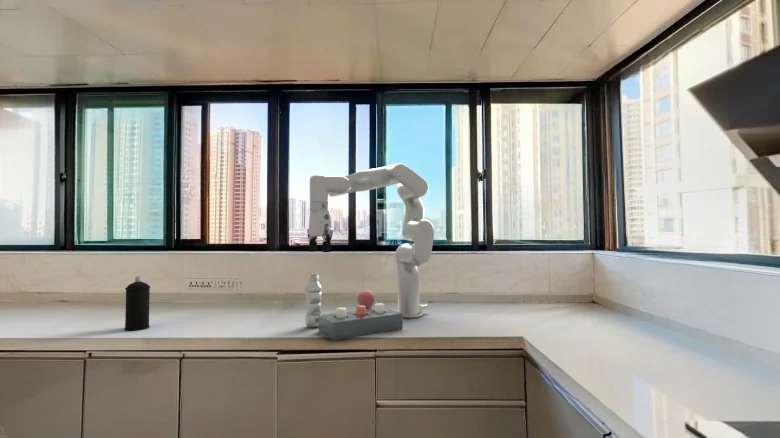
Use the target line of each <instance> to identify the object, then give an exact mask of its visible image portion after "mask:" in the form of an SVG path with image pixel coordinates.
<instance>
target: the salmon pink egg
mask: <svg viewBox="0 0 780 438" xmlns="http://www.w3.org/2000/svg"><path fill="white" fill-rule="evenodd" d="M355 311H356V316H364V315H366V306H363V305H355Z"/></svg>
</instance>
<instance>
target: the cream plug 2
mask: <svg viewBox="0 0 780 438" xmlns="http://www.w3.org/2000/svg"><path fill="white" fill-rule="evenodd" d="M384 308H385V303H382V302H380V303H375V304H374V309H375V313H376V314H380V313H384Z"/></svg>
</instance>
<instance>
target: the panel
mask: <svg viewBox="0 0 780 438" xmlns="http://www.w3.org/2000/svg"><path fill="white" fill-rule="evenodd" d="M396 311H397V310H396ZM396 311H395V310H393V309H389V308H387V307H384V313H380V314H376V313H375V308H371V309H367V310H366V315H364V316H356V310H352V311H346V318H340V319H337V318H336V312H335V313H328V314H322V315H319V326H318V333H321V335H323V336H325V337H327V338H328V339H330V340H331V341H338V340H344V339H345V340H346V339H351V338H357V337H358V338H359V337H364V336H370V335H377V334H382V333H383V334H384V333H389V332H390V333H391V332H395V331H401V330H404V328H403V318H402V313H399V312H396Z"/></svg>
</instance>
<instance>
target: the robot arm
mask: <svg viewBox="0 0 780 438" xmlns="http://www.w3.org/2000/svg"><path fill="white" fill-rule="evenodd" d="M394 185H397V187H396V191H397V195H398V196H399V198H400V199H401V200H402V202H403V204H404V206H405V207H404V208H405V212H404V219H403V223H402V233H401V234H402V237H403V239H404V240H407V241H411V242H413V243H402V244H400V245H399V246H397V248H396V250H395V254H394V256H395V258H394V259H395V262H396V263H395V264H396V268H397V269H396V270H397V271H396V272H397V310H396V312H399V313H402V319H403V318H404V319H405V318H406V319H407V318H408V319H411V318H415V319H416V318H420V317H422V316H423V311H424V310H428V309H429V305H428V304H420V273H419V269H418V267H424V266H426V265H428V264H429V261H430V259H431V257H432V252H433V251H432V250H433V244H434V236H435V229H434V226H433V224H432V222H431V221H429V220H428V219H425V218H424V217H425V206H424V203H423V201H422V199H421V198H423V197H425V196H426V195H427V194H428V192H429V185H428V182H427V180H426V179H425V178H424V177H422V176H421V175H420V174H418V173H417V172H416V171H414V170H413V169H412V168H411V167H409V166H407V165H406V164H404V163H400V162H398V163H394V164H390V165H386V166H381V167H376V168H370V169H364V170H361V171H357V172H355V173H351V174H347V175H331V176H328V175H322V174H315V175H311V176H310V178H309V217H308V219H309V220H308V229H306V233H307V238H308V239H307V240H308V245H309V246H308V250H309V252H317V251H318V241H317V239H318V237H322V240H323V241H322V253H331V242H332V239H333V234H334V228H333V223H332V214H331V211H330V197H337V196H343V195H345V194H350V193H356V192H365V191H371V190H375V189H376V190H377V189H380V188H386V187H391V186H394Z"/></svg>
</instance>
